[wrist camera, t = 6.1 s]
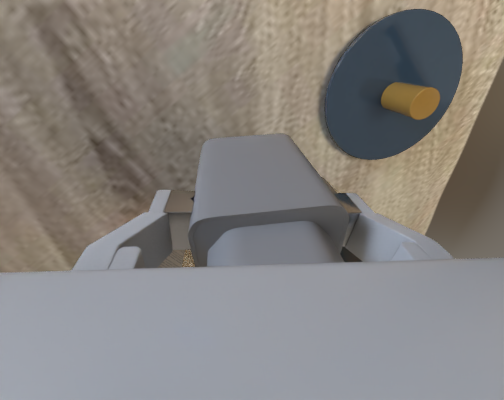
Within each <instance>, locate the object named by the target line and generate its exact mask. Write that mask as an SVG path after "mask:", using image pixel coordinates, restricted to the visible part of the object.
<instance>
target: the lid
mask: <svg viewBox="0 0 504 400" xmlns="http://www.w3.org/2000/svg"><path fill="white" fill-rule="evenodd" d="M462 63H463V54H462V46H461V42H460V39H459V36H458V34H457V32H456V30H455V28H454V27H453V25H452V24H451V23H450V22H449V21H448V20H447V19H446V18H445V17H443V16H442V15H440V14H438V13H436V12H434V11H430V10H426V9H411V10H404V11H400V12H397V13H393V14H391V15H388V16H386V17H384V18H382V19H380V20H379V21H377V22H375V23H374V24H372V25H371V26H369V27H368V28H367V29H366V30H364V31H363V32H362V33H361V34H360V35H359V36H358V37H357V38H356V39H355V40H354V41H353V42H352V43H351V44H350V46H349V47H348V48H347V49H346V51H345V52H344V54H343V55H342V57H341V58H340V60H339V62H338V63H337V65H336V67H335V69H334V71H333V74H332V76H331V79H330V82H329V85H328V88H327V93H326V99H325V119H326V124H327V128H328V130H329V133H330V135H331V137H332V139H333V140H334V142H335V143H336V144H337V145H338V146H339V147H340V148H341V149H342V150H343V151H345V152H346V153H348V154H349V155H351V156H354V157H356V158H360V159H367V160H377V159H383V158H387V157H391V156H394V155H396V154H399V153H401V152H403V151H405V150H407V149H408V148H410V147H411V146H413V145H414V144H416V143H417V142H418V141H420V140H421V139H422V138H423V137H424V136H426V135H427V134H428V133H429V132H430V131H431V130H432V129H433V128H434V127H435V125H436V124H437V123H438V122H439V120H440V119H441V118H442V116H443V115H444V113H445V112H446V110H447V109H448V107H449V105H450V103H451V102H452V99H453V97H454V95H455V93H456V90H457V87H458V84H459V81H460V76H461V72H462Z"/></svg>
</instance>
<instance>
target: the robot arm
mask: <svg viewBox="0 0 504 400" xmlns="http://www.w3.org/2000/svg"><path fill="white" fill-rule="evenodd" d="M195 193H196V191H185V190H158V191H157V192H156V195H155V197H154V200H153V202H152V204H151V207H150V209H149V211H148V213H143V214H141V215H139V216H138V217H136V218H134V219H132V220H131V221H129V222H127V223H126V224H124V225H122V226H121V227H119V228H117V229H116V230H114V231H112V232H110V233H109V234H107V235H105V236H104V237H102V238H100V239H99V240H97V241H95V242H94V243H92V244H90V245H88V246H87V247H86V249H85V250H84V252H83V253H82V255H81V256H80V258H79V259H78V261H77V262H76V264H75V266H74V267H73V269H72V270H71V271H43V272H10V273H0V400H504V258H473V259H472V258H471V259H455V258H453V256H451V255H450V254H449V253H448V252H447V251H446V250H445V249H444V248H443V247H441V246H440V245H439V244H438V243H437V242H436V241H434V240H433V239H430V238H428V237H426V236H424V235H422V234H420V233H418V232H416V231H414V230H412V229H410V228H407V227H405V226H403V225H401V224H399V223H397V222H395V221H393V220H391V219H389V218H387V217H384V216H382V215H380V214H378V213H374V212H373V211H372V210H371V209H370V208H369V207H368V206H367V204H366V203H365V202H364V201H363V200H362V199H361V198H360V197H359V196H358V195H357V194H355V193H333V194H334V195H335V196H336V198H337V199H338V200H339V201H340V203H341V204H342V205H343V207H344V208H345V209H346V211H347V212H348V215H349V223H348V227H347V230H346V234H345V238H344V242H343V246H342V247H345V248H347V249H348V250H349V251H350V252H351V253H353V254H354V255H355V256H356V257H358V258H359V259H360V260H361V261H363V262H340V263H308V264H274V265H241V266H208V267H175V268H158V266H159V265H160V264H161V263H162V262H163V261H164V260H165V259H166V258H167V257H168V256H169V255H170V254H171V253H172V252H173V250H187V249H191V248H190V244H189V240H188V231H189V224H190V218H191V215H192V213H193V207H194V201H193V200H194V197H195Z"/></svg>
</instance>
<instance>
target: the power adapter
mask: <svg viewBox="0 0 504 400" xmlns="http://www.w3.org/2000/svg"><path fill="white" fill-rule="evenodd" d="M195 191H196V193H195V197H194V200H193V201H194V207H193V213H192V215H191V218H190V224H189V231H188V240H189V244H190V248H191V252H192V256H193V259H194V263H195V267H208V266H241V265H274V264H308V263H340V262H344V260H343V258H342V257H341V255H340V253H341V250H342V246H343V242H344V238H345V234H346V230H347V227H348V223H349V215H348V212H347V211H346V209H345V208H344V207H343V205H342V204H341V203H340V201H339V200H338V199H337V198H336V196H335V195H334V194H333V192H332V191H331V190H330V188H329V187H328V186H327V184H326V183H325V182H324V181H323V179H322V178H321V177H320V175H319V174H318V173H317V171H316V170H315V169H314V167H313V166H312V165H311V164H310V162H309V161H308V160H307V158H306V157H305V156H304V154H303V153H302V152H301V150H300V149H299V148H298V146H297V145H296V144H295V143H294V141H293V140H292V139H291V137H290V136H288V135H286V134H267V135H253V136H240V137H226V138H214V139H209V140H207V141H206V142H204V144H203V146H202V148H201V154H200V161H199V167H198V173H197V180H196V186H195Z"/></svg>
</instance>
